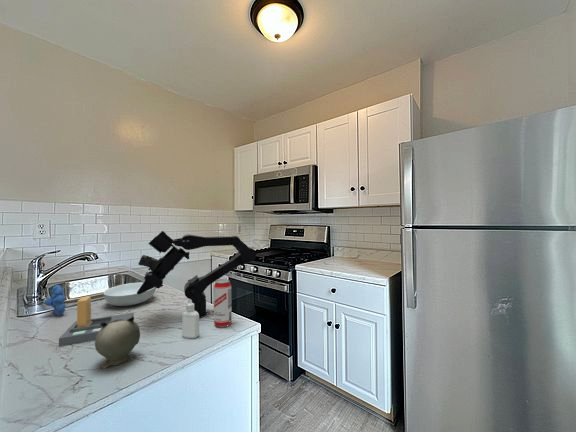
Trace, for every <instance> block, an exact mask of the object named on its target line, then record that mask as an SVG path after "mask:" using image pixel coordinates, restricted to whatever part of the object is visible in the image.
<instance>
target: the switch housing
mask: <svg viewBox="0 0 576 432" xmlns="http://www.w3.org/2000/svg"><path fill="white" fill-rule="evenodd" d="M134 315H135V312H129V313H123V314H122V313H121V314H117V315H110V316H102V317H94V318H91V321H93V323H92V324H91V325H90V326H86V327H79V328H76V327H77V320H75V321H74V322H72V324H71V325H70V326H69V327H68V328H67V329H66V330H65V332H63V333H62V335H61V336H60V337H59V338H58V347H65V346H70V345H74V344H81V343H86V342H92V341H95V339H96V336H97V334H98V332H99V331H100V329H101V328H102V327H103V326H101V325H100V323H103V322H104V323H107V324H108V323H110V322H112V321H115V320H118V319H123V320H127V319H129V318H132V317H134V318H135V316H134Z"/></svg>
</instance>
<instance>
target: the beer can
mask: <svg viewBox="0 0 576 432" xmlns="http://www.w3.org/2000/svg"><path fill="white" fill-rule="evenodd" d="M232 309H233V308H232V284H231V282H230V279H227V278H226V279H223V278H222V279H218V280H216V281H215V282H214V285H213V324H214V325H215V327H217V326H218V327H217V328H225V327H224V326H227V325H229V324H230V325H231V324H232V321H233V320H232V317H233V315H232V313H233V312H232V311H233V310H232ZM230 325H229V326H230ZM227 327H228V326H227Z"/></svg>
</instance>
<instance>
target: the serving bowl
mask: <svg viewBox="0 0 576 432" xmlns="http://www.w3.org/2000/svg"><path fill="white" fill-rule="evenodd" d="M143 283H144V281H140V282H129V283H124V284H119V285H115V286H113V287H109V288H107V289H105V290H104V291H103V293H102V294H103V298H104V301H106V302H107V303H108V304H109V305H112V306H117V307H129V306H135V305H137V304H138V305H139V304H141V303H144V302H146V301H148V300H149V299H151V298H152V297H153V296H154V294H155V292H156V290H157V289H156V287H154V288H152V289H150V290H147V291H145V292H143V293H141V294H137V291H138V290H139V288H140V287H141V285H142V284H143Z"/></svg>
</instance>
